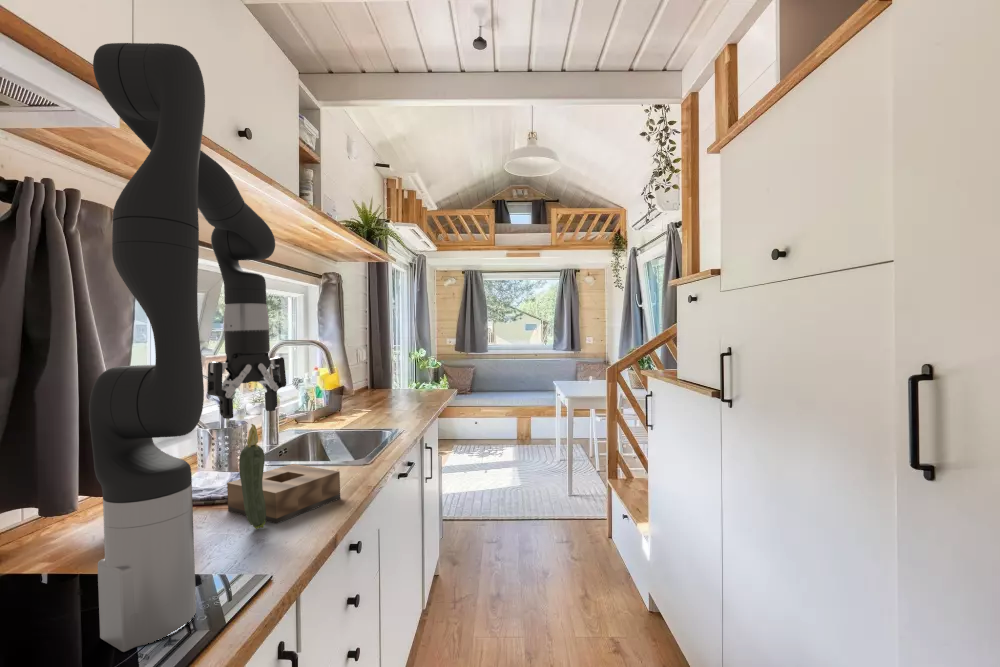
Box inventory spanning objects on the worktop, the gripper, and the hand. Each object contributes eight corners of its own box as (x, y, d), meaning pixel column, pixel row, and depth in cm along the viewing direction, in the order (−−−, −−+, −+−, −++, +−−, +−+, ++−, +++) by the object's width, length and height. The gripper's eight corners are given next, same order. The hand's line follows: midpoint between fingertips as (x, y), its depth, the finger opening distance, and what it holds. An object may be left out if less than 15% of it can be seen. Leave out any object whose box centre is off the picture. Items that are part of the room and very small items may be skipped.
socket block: (276, 523, 96) (275, 493, 96) (228, 511, 104) (227, 482, 103) (340, 498, 109) (339, 471, 109) (293, 488, 117) (292, 463, 117)
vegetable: (259, 535, 90) (255, 426, 90) (236, 535, 90) (232, 427, 90) (271, 525, 95) (267, 422, 95) (249, 526, 95) (245, 423, 95)
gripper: (221, 328, 84) (224, 422, 84) (292, 327, 97) (295, 409, 97) (196, 330, 88) (200, 419, 88) (268, 328, 100) (271, 407, 101)
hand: (250, 414), depth 92 cm, fingers open, 8 cm apart
